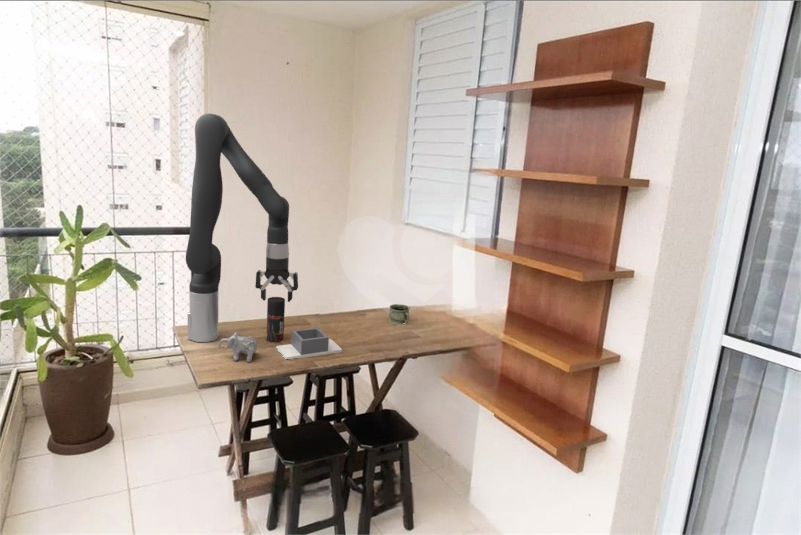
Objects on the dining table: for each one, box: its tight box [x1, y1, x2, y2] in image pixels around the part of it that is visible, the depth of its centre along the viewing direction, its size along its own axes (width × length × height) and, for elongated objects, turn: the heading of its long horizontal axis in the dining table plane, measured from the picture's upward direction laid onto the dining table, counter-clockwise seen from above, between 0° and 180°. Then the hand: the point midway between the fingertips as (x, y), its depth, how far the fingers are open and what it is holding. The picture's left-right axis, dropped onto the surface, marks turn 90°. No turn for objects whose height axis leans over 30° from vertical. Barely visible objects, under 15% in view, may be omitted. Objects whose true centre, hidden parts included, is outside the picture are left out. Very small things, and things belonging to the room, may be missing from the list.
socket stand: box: [275, 327, 343, 360], centre depth 172 cm, size 20×10×6 cm, turn 121°
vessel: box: [388, 303, 411, 325], centre depth 209 cm, size 12×9×6 cm
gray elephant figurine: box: [217, 331, 258, 363], centre depth 161 cm, size 9×12×8 cm
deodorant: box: [265, 296, 286, 343], centre depth 178 cm, size 6×6×15 cm
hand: (276, 300), depth 176 cm, fingers open, 8 cm apart
